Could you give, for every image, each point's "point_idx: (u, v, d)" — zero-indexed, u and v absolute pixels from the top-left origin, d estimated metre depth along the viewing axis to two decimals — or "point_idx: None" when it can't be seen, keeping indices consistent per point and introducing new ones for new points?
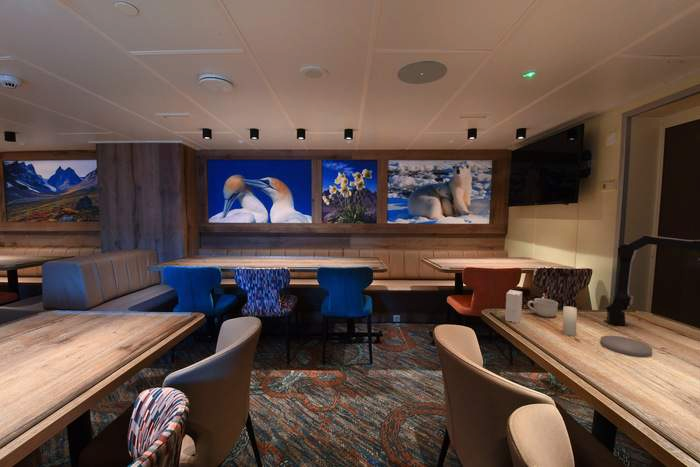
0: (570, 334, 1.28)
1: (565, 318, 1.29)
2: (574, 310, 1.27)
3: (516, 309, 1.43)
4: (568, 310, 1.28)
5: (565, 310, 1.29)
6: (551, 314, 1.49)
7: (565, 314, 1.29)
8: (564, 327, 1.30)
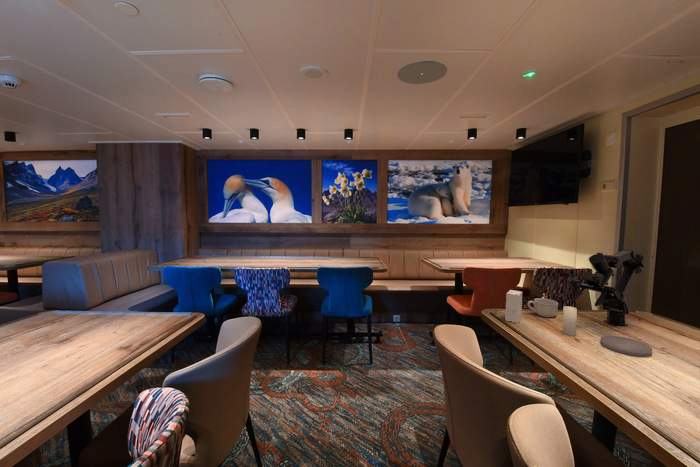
0: (570, 334, 1.28)
1: (565, 318, 1.29)
2: (574, 310, 1.27)
3: (516, 309, 1.43)
4: (568, 310, 1.28)
5: (565, 310, 1.29)
6: (551, 314, 1.49)
7: (565, 314, 1.29)
8: (564, 327, 1.30)
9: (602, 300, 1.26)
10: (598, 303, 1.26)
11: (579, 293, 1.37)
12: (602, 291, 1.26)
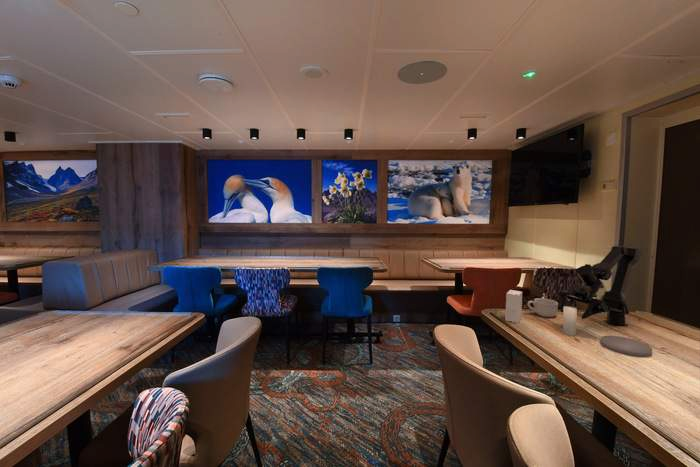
0: (570, 334, 1.28)
1: (565, 318, 1.29)
2: (574, 310, 1.27)
3: (516, 309, 1.43)
4: (568, 310, 1.28)
5: (565, 310, 1.29)
6: (551, 314, 1.49)
7: (565, 314, 1.29)
8: (564, 327, 1.30)
9: (589, 313, 1.25)
10: (585, 315, 1.25)
11: (567, 305, 1.36)
12: (589, 303, 1.25)
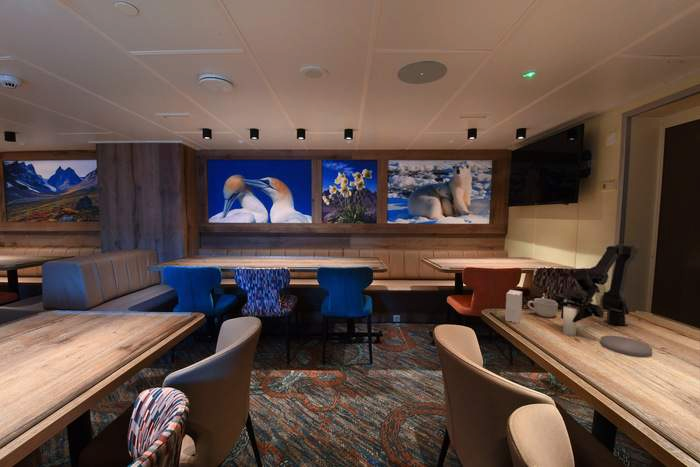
0: (570, 334, 1.28)
1: (565, 318, 1.29)
2: (574, 310, 1.27)
3: (516, 309, 1.43)
4: (568, 310, 1.28)
5: (565, 310, 1.29)
6: (551, 314, 1.49)
7: (565, 314, 1.29)
8: (564, 327, 1.30)
9: (580, 316, 1.26)
10: (576, 319, 1.26)
11: None
12: (580, 307, 1.26)
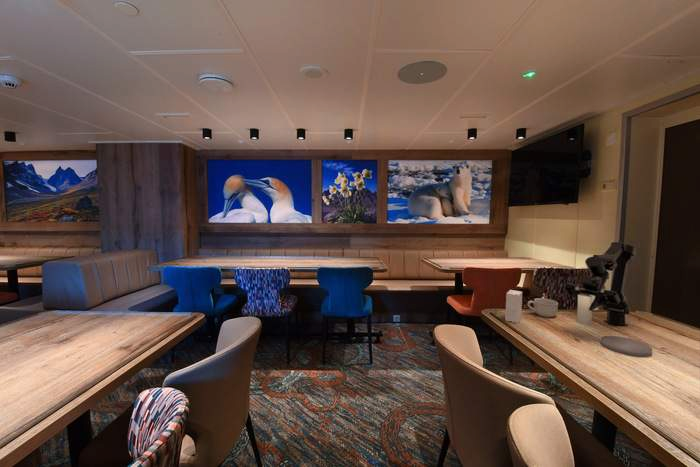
0: (586, 323, 1.22)
1: (581, 307, 1.23)
2: (590, 298, 1.22)
3: (516, 309, 1.43)
4: (584, 298, 1.22)
5: (580, 298, 1.23)
6: (551, 314, 1.49)
7: (581, 302, 1.23)
8: (579, 316, 1.24)
9: (596, 304, 1.21)
10: (593, 307, 1.21)
11: None
12: (596, 294, 1.21)
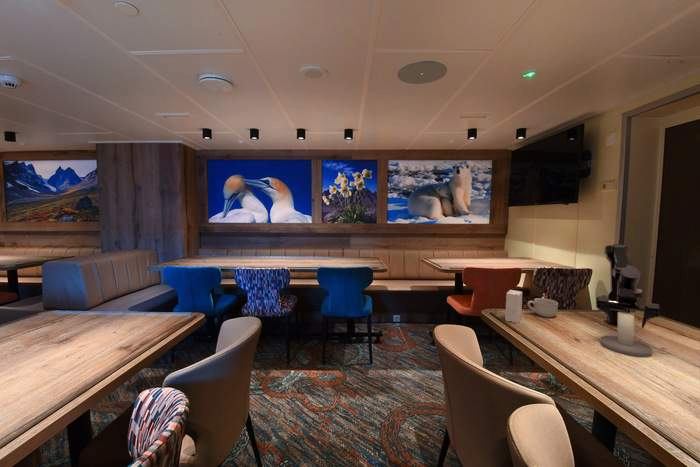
0: (631, 344, 1.13)
1: (625, 326, 1.13)
2: (633, 316, 1.13)
3: (516, 309, 1.43)
4: (629, 317, 1.13)
5: (624, 317, 1.13)
6: (551, 314, 1.49)
7: (625, 322, 1.13)
8: (623, 337, 1.14)
9: (646, 320, 1.12)
10: None
11: None
12: (646, 309, 1.12)
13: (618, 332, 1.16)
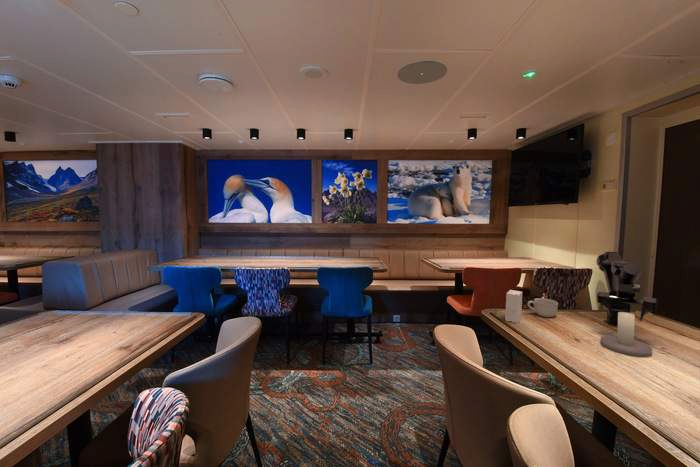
0: (631, 344, 1.13)
1: (625, 326, 1.13)
2: (634, 316, 1.13)
3: (516, 309, 1.43)
4: (629, 317, 1.12)
5: (624, 317, 1.13)
6: (551, 314, 1.49)
7: (625, 322, 1.13)
8: (623, 337, 1.14)
9: (644, 313, 1.19)
10: (643, 317, 1.18)
11: None
12: (644, 304, 1.19)
13: (618, 332, 1.16)
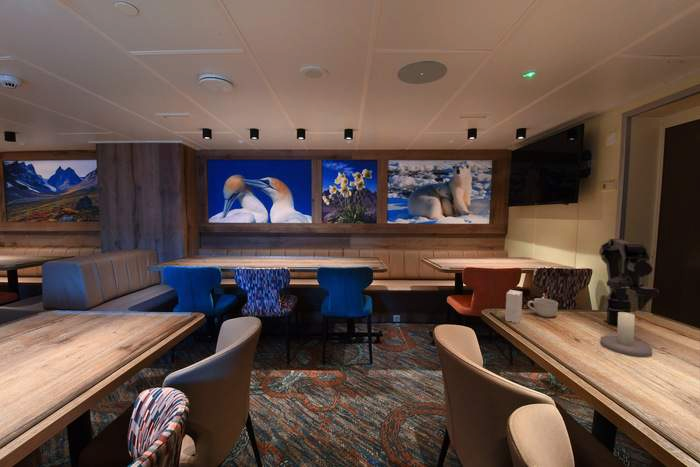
0: (631, 344, 1.13)
1: (625, 326, 1.13)
2: (634, 316, 1.13)
3: (516, 309, 1.43)
4: (629, 317, 1.12)
5: (624, 317, 1.13)
6: (551, 314, 1.49)
7: (625, 322, 1.13)
8: (623, 337, 1.14)
9: (643, 302, 1.21)
10: (641, 306, 1.22)
11: (623, 292, 1.32)
12: (636, 295, 1.21)
13: (618, 332, 1.16)
